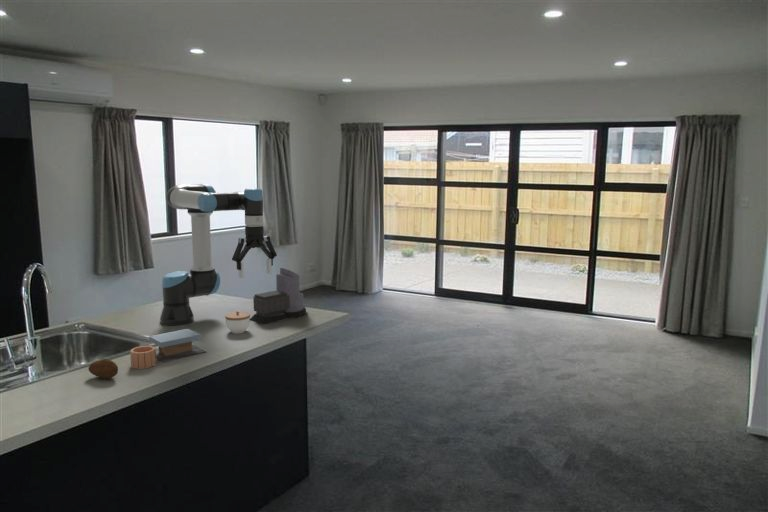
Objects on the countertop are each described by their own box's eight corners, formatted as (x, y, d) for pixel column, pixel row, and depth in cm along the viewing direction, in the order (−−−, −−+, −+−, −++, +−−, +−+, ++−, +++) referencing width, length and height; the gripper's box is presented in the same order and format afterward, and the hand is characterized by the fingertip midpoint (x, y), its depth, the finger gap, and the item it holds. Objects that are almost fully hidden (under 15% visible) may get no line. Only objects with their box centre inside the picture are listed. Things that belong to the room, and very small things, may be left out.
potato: (97, 373, 204) (96, 354, 203) (125, 376, 201) (124, 357, 200) (84, 379, 197) (82, 360, 196) (112, 383, 195) (111, 363, 194)
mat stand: (145, 352, 227) (144, 340, 226) (188, 342, 239) (187, 331, 238) (161, 362, 215) (161, 349, 215) (206, 352, 228) (205, 340, 227)
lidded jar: (244, 335, 250) (243, 315, 249) (221, 334, 252) (220, 313, 251) (254, 329, 260) (253, 309, 259) (232, 327, 262) (231, 307, 261)
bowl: (127, 364, 213) (126, 349, 212) (150, 359, 219) (149, 344, 218) (136, 370, 207) (135, 354, 206) (159, 365, 213) (159, 349, 212)
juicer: (294, 308, 299) (293, 262, 295) (314, 314, 288) (314, 266, 284) (246, 319, 277) (244, 270, 273) (266, 325, 266) (265, 274, 262)
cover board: (149, 341, 225) (149, 336, 224) (188, 333, 236) (188, 328, 235) (161, 347, 217) (160, 342, 217) (200, 339, 228) (200, 334, 228)
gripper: (231, 228, 227) (233, 280, 230) (284, 224, 244) (285, 273, 247) (222, 226, 232) (224, 277, 235) (274, 223, 249) (275, 270, 252)
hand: (255, 275), depth 241 cm, fingers open, 13 cm apart
